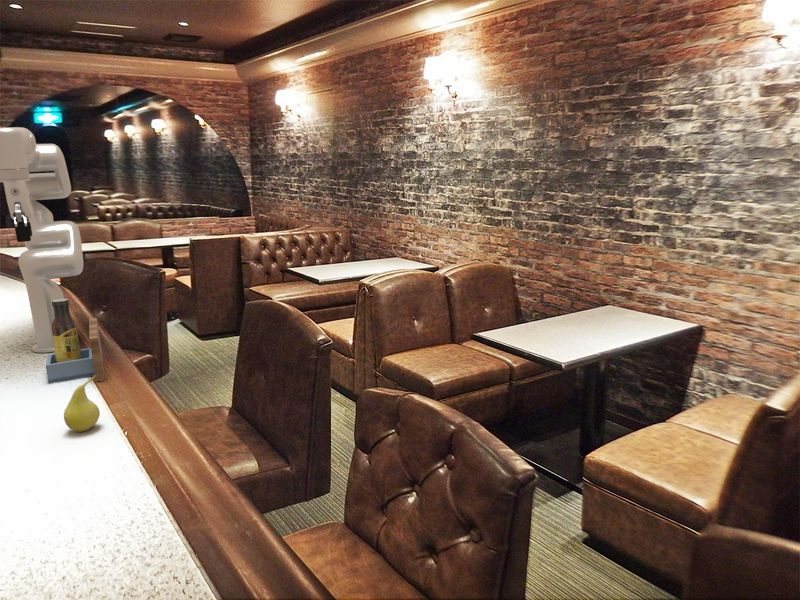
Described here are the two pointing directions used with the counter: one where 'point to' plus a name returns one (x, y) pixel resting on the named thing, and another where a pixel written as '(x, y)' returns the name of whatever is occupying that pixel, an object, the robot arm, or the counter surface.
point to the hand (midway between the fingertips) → (25, 238)
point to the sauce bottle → (64, 333)
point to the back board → (96, 349)
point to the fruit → (81, 410)
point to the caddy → (70, 367)
